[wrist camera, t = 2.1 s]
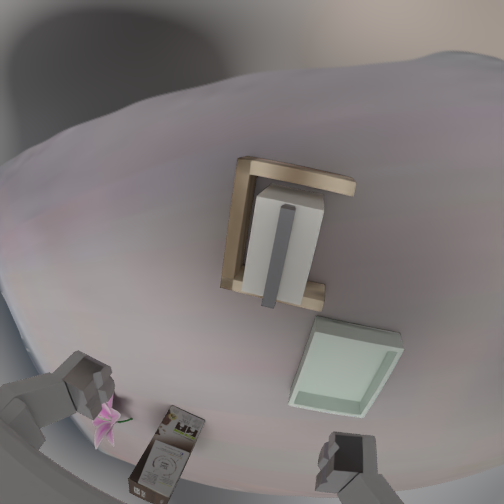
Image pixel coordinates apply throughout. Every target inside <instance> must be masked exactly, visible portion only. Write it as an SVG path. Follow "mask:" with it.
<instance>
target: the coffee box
mask: <svg viewBox="0 0 504 504" xmlns="http://www.w3.org/2000/svg"><path fill="white" fill-rule="evenodd" d="M204 423H205V420H203V419H200V418H198V417H196V416H194V415H192V414H189V413H187V412H185V411H183V410H181V409H179V408H177V407H175V406H171V408H170V409H169V411H168V413H167V414H166V416H165V418H164V419H163V421H162V423H161V424H160V426H159V428H158V430H157V431H156V433H155V435H154V437H153V438H152V440H151V442H150V443H149V445H148V447H147V448H146V450H145V452H144V453H143V455H142V457H141V458H140V460H139V462H138V464H137V465H136V467H135V469H134V470H133V472H132V474H131V475H130V477H129V478H128V481H129V491H130V493H131V494H133V495H135V496H137V497H139V498H141V499H143V500H146V501H148V502H150V503H153V504H167V503H168V501H169V499H170V497H171V495H172V493H173V491H174V489H175V487H176V485H177V483H178V481H179V479H180V476H181V474H182V472H183V470H184V468H185V466H186V463H187V461H188V459H189V457H190V455H191V452H192V450H193V448H194V446H195V443H196V441H197V439H198V436H199V434H200V432H201V429H202V427H203V425H204Z"/></svg>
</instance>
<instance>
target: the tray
mask: <svg viewBox="0 0 504 504" xmlns="http://www.w3.org/2000/svg"><path fill="white" fill-rule="evenodd" d="M403 351H404V345H403V342H402V339H401V336H400V333H397V332H392V331H387V330H382V329H377V328H372V327H367V326H362V325H357V324H352V323H347V322H343V321H338V320H333V319H329V318H324V317H320V316H316V318H315V321H314V324H313V327H312V330H311V333H310V336H309V339H308V342H307V345H306V348H305V351H304V354H303V357H302V359H301V362H300V365H299V368H298V371H297V373H296V376H295V379H294V382H293V384H292V387H291V390H290V396H289V401H288V405H289V406H293V407H298V408H303V409H308V410H314V411H319V412H325V413H331V414H337V415H344V416H350V417H358V418H364V416H365V415H366V413H367V412H368V410H369V409H370V407H371V405H372V404H373V402H374V401H375V399H376V398H377V396H378V394H379V393H380V391H381V390H382V388H383V386H384V385H385V383H386V381H387V380H388V378H389V376H390V374H391V373H392V371H393V369H394V367H395V366H396V364H397V362H398V360H399V358H400V357H401V355H402V353H403Z"/></svg>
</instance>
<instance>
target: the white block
mask: <svg viewBox="0 0 504 504" xmlns="http://www.w3.org/2000/svg"><path fill="white" fill-rule="evenodd" d="M323 214H324V196H323V194H318V193H314V192H310V191H305V190H301V189H296V188H291V187H286V186H282V185H277V184H270V185H269V186H268V187H267V188H266V189H264V190H263V191H262V192H261V193H260V194H259V195H257V198H256V204H255V210H254V216H253V222H252V228H251V234H250V240H249V246H248V252H247V258H246V264H245V271H244V277H243V283H242V289H241V291H243V292H247V293H251V294H255V295H259V296H263V299H262V304H261V306H265V307H269V308H273V309H274V306H275V303H276V300H280V301H284V302H288V303H292V304H297V305H301V301H302V298H303V294H304V290H305V286H306V283H307V279H308V275H309V271H310V267H311V264H312V260H313V256H314V252H315V248H316V244H317V240H318V235H319V231H320V227H321V223H322V219H323Z"/></svg>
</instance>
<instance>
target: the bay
mask: <svg viewBox="0 0 504 504" xmlns="http://www.w3.org/2000/svg"><path fill="white" fill-rule="evenodd" d="M257 176H261V177H266V178H271V179H276V180H281V181H286V182H291V183H296V184H300V185H305V186H310V187H314V188H319V189H323V190H327V191H331V192H336V193H340V194H344V195H348V196H352V197H353V196H354V191H355V187H356V182H355V181H354V179H353V178H351V177H347V176H343V175H338V174H334V173H330V172H326V171H321V170H317V169H312V168H308V167H303V166H298V165H293V164H288V163H283V162H278V161H273V160H267V159H262V158H256V157H250V156H245V157H240V158H238V160H237V167H236V173H235V180H234V187H233V194H232V201H231V208H230V215H229V222H228V230H227V237H226V245H225V252H224V260H223V268H222V276H221V284H220V288H224V289H228V290H232V291H236V292H240V293H244V294H248V295H252V296H256V297H260V298H263V296H259V295H255V294H251V293H247V292H243V291H241V289H242V283H243V277H244V271H245V266H243V259H244V253H245V246H246V240H247V234H248V228H249V221H250V215H251V209H252V203H253V197H254V190H255V184H256V178H257ZM324 301H325V285H324V284H320V283H315V282H311V281H307V283H306V286H305V290H304V294H303V298H302V301H301V305H297V304H292V303H288V302H284V301H280V300H276V302H280V303H284V304H289V305H293V306H297V307H301V308H306V309H310V310H314V311H319V312H321V311H322V308H323V305H324Z"/></svg>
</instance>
